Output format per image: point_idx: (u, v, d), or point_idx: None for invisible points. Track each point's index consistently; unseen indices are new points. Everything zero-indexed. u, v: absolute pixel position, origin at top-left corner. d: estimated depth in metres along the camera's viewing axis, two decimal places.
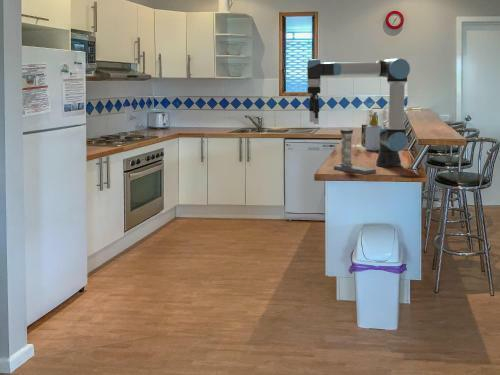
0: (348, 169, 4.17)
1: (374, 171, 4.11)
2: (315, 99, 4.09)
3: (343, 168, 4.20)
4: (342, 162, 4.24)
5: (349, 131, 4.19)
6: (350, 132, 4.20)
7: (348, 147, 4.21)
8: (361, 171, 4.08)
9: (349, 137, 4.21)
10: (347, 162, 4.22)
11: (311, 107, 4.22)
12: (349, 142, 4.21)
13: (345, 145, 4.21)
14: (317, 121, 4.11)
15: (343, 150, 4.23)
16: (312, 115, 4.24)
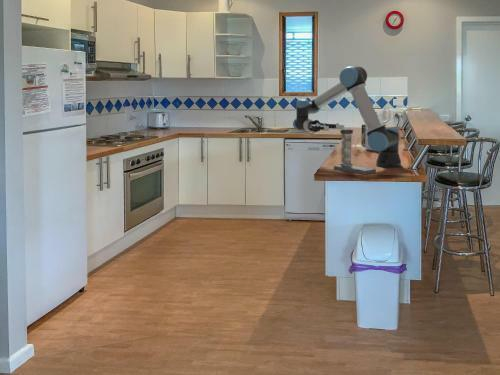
0: (348, 169, 4.17)
1: (374, 171, 4.11)
2: (311, 127, 4.36)
3: (343, 168, 4.20)
4: (342, 162, 4.24)
5: (349, 131, 4.19)
6: (350, 132, 4.20)
7: (348, 147, 4.21)
8: (361, 171, 4.08)
9: (349, 137, 4.21)
10: (347, 162, 4.22)
11: (332, 127, 4.39)
12: (349, 142, 4.21)
13: (345, 145, 4.21)
14: (325, 127, 4.26)
15: (343, 150, 4.23)
16: (338, 126, 4.35)
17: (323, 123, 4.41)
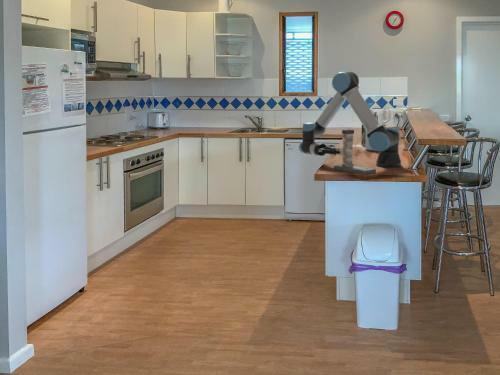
0: (348, 169, 4.17)
1: (374, 171, 4.11)
2: (322, 152, 4.33)
3: (343, 168, 4.20)
4: (343, 162, 4.23)
5: (350, 131, 4.18)
6: (351, 132, 4.19)
7: (349, 147, 4.20)
8: (361, 171, 4.08)
9: (350, 137, 4.20)
10: (348, 162, 4.21)
11: None
12: (350, 142, 4.20)
13: (346, 145, 4.20)
14: (342, 151, 4.25)
15: (344, 150, 4.22)
16: None
17: (328, 147, 4.37)
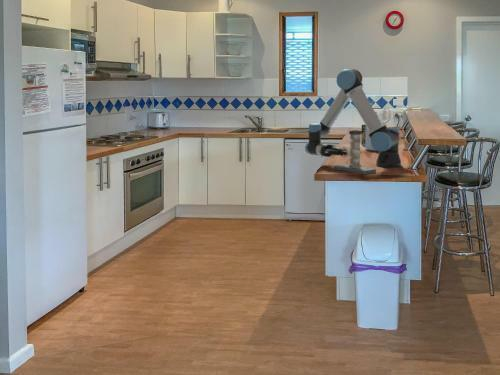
0: (348, 169, 4.17)
1: (374, 171, 4.11)
2: (328, 153, 4.28)
3: (343, 168, 4.20)
4: (351, 163, 4.18)
5: (358, 132, 4.13)
6: (359, 133, 4.14)
7: (357, 148, 4.15)
8: (361, 171, 4.08)
9: (358, 138, 4.15)
10: (356, 163, 4.16)
11: None
12: (358, 143, 4.15)
13: (354, 146, 4.15)
14: (349, 152, 4.20)
15: (351, 151, 4.17)
16: None
17: (335, 148, 4.32)
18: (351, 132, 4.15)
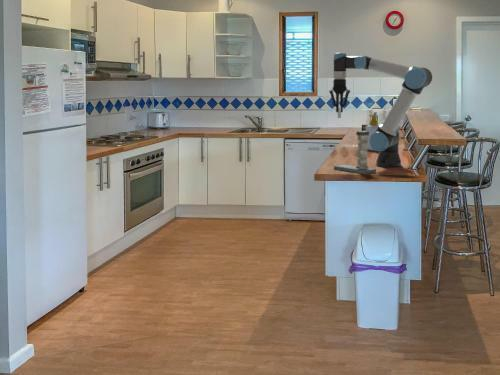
0: (348, 169, 4.17)
1: (374, 171, 4.11)
2: None
3: (343, 168, 4.20)
4: (358, 164, 4.13)
5: (365, 133, 4.09)
6: (366, 134, 4.09)
7: (364, 149, 4.10)
8: (361, 171, 4.08)
9: (365, 139, 4.10)
10: (363, 164, 4.12)
11: (340, 101, 4.37)
12: (365, 144, 4.10)
13: (361, 147, 4.10)
14: (338, 115, 4.37)
15: (358, 152, 4.12)
16: None
17: (342, 92, 4.34)
18: (358, 133, 4.10)
